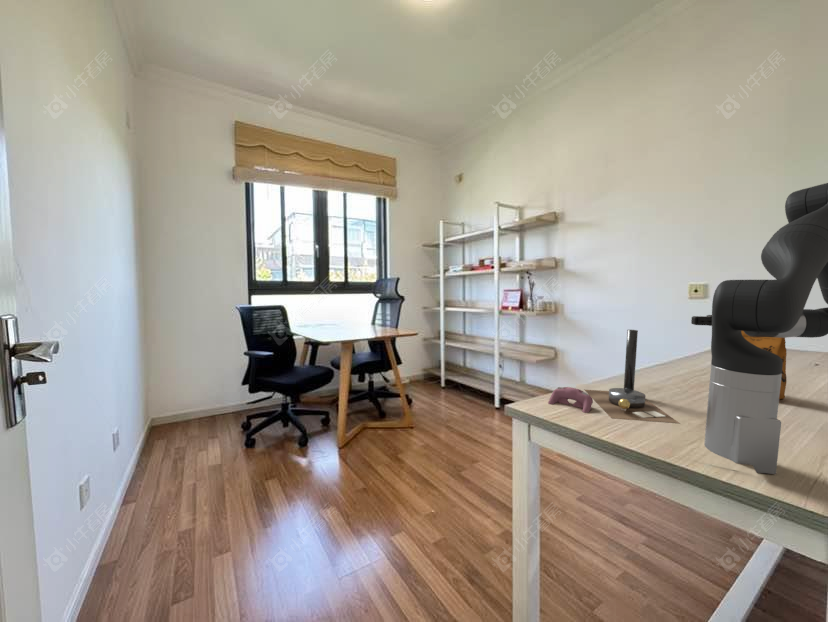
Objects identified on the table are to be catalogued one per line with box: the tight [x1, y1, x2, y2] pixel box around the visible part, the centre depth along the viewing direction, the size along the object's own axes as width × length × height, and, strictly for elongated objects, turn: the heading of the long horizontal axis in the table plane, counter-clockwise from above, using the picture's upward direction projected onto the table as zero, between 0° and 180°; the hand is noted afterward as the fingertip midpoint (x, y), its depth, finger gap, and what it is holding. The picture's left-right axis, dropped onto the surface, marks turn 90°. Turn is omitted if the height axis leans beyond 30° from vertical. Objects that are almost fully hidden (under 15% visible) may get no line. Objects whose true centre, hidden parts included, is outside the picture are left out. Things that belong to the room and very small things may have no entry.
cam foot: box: [608, 329, 646, 411], centre depth 88 cm, size 18×8×18 cm, turn 145°
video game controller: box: [547, 386, 594, 414], centre depth 87 cm, size 10×5×7 cm, turn 47°
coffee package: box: [741, 331, 787, 400], centre depth 100 cm, size 10×12×22 cm
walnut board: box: [583, 389, 681, 424], centre depth 88 cm, size 22×14×2 cm, turn 169°
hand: (693, 320), depth 90 cm, fingers closed
